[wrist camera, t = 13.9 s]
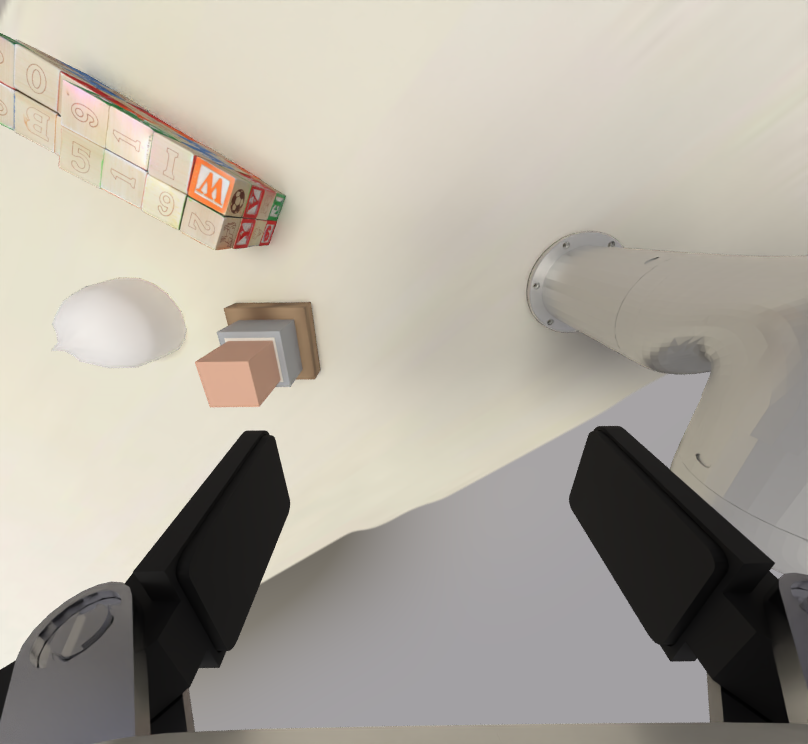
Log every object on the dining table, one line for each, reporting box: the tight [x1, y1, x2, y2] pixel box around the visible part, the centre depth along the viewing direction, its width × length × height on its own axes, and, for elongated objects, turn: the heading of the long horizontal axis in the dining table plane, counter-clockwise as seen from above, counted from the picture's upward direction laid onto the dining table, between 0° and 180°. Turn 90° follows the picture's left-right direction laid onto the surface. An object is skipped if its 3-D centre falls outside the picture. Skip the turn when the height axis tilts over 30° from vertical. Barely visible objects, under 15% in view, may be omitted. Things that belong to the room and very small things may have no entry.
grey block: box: [217, 319, 303, 387], centre depth 37 cm, size 7×7×5 cm
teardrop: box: [51, 278, 187, 368], centre depth 35 cm, size 11×11×12 cm
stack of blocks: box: [0, 33, 286, 250], centre depth 28 cm, size 21×6×12 cm, turn 60°
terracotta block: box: [195, 341, 281, 407], centre depth 32 cm, size 5×5×6 cm
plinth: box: [224, 302, 320, 379], centre depth 41 cm, size 10×10×3 cm
